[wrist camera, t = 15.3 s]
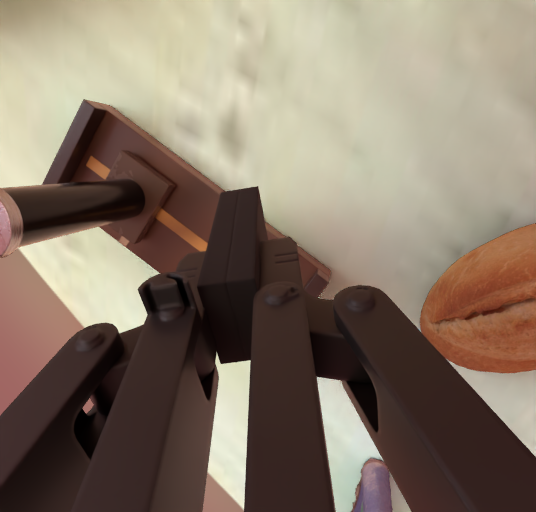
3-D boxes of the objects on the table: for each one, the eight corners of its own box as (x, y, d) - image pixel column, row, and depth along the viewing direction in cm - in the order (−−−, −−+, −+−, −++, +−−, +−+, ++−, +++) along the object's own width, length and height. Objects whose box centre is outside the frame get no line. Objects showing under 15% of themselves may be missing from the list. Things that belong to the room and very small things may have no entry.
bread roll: (388, 276, 34) (399, 309, 26) (576, 178, 29) (655, 184, 22) (445, 370, 34) (472, 430, 27) (636, 289, 30) (732, 332, 23)
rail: (331, 270, 35) (329, 282, 31) (271, 344, 37) (263, 363, 34) (109, 104, 35) (83, 98, 32) (66, 189, 38) (37, 192, 34)
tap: (175, 185, 33) (28, 204, 18) (131, 256, 35) (-31, 326, 20) (74, 109, 33) (-153, 66, 18) (37, 184, 36) (-191, 202, 21)
